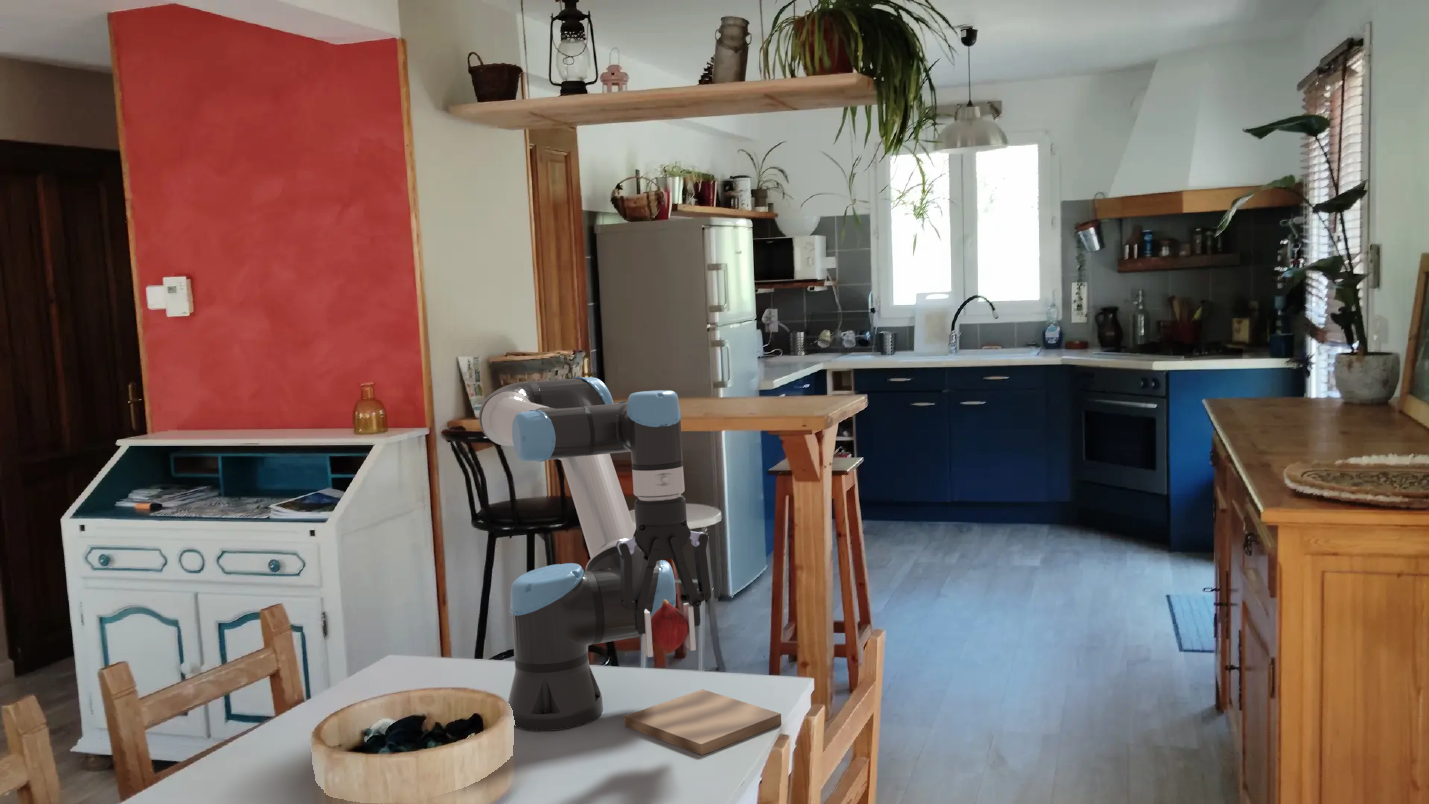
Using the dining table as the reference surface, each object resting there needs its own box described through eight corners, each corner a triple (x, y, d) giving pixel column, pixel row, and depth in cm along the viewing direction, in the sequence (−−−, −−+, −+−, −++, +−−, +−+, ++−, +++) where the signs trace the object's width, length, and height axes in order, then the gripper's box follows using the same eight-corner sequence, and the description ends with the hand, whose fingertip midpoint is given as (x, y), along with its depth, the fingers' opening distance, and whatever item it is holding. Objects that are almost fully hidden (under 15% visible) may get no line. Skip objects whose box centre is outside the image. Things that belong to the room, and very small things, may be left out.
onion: (697, 650, 172) (693, 597, 172) (673, 660, 167) (669, 606, 167) (666, 646, 175) (663, 593, 175) (642, 656, 171) (638, 602, 170)
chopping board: (624, 726, 178) (624, 716, 178) (703, 698, 189) (702, 689, 189) (701, 755, 165) (701, 744, 164) (781, 723, 175) (780, 713, 175)
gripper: (601, 506, 164) (613, 667, 165) (728, 492, 169) (738, 648, 171) (591, 499, 171) (602, 654, 172) (713, 486, 176) (722, 636, 178)
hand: (669, 651), depth 171 cm, fingers closed on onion, 6 cm apart
